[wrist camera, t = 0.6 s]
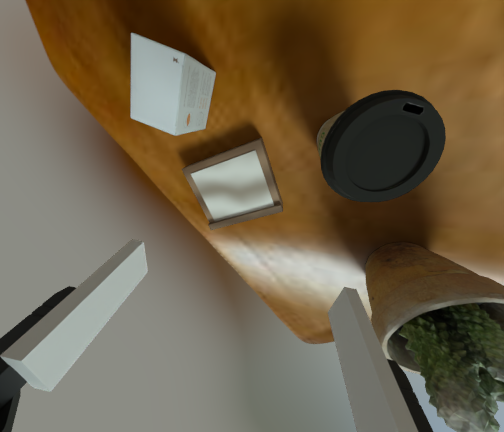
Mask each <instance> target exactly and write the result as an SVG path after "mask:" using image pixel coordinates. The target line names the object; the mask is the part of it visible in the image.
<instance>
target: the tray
mask: <svg viewBox="0 0 504 432" xmlns="http://www.w3.org/2000/svg"><path fill="white" fill-rule="evenodd" d="M182 171H183V173H184V175H185V176H186V178H187V180H188V182H189V184H190V186H191V188H192V190H193V192H194V194H195V196H196V198H197V199H198V201H199V203H200V205H201V207H202V209H203V211H204V213H205V215H206V217H207V219H208V220H209V222H210V223H209V227H210V229H211V230H214V229H217V228H221V227H225V226H229V225H233V224H237V223H240V222H244V221H248V220H252V219H256V218H259V217H263V216H267V215H271V214H275V213H279V212H282V211H283V202H282V199H281V196H280V193H279V189H278V186H277V183H276V180H275V177H274V174H273V171H272V167H271V164H270V161H269V158H268V155H267V152H266V148H265V145H264V142H263V139H262V137H261V138H259V139H256V140H253V141H251V142H248V143H246V144H243V145H240V146H238V147H235V148H233V149H230V150H227V151H225V152H222V153H219V154H217V155H214V156H212V157H209V158H206V159H204V160H201V161H199V162H196V163H193V164H191V165H188V166H187V167H185V168H183V169H182Z"/></svg>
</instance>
